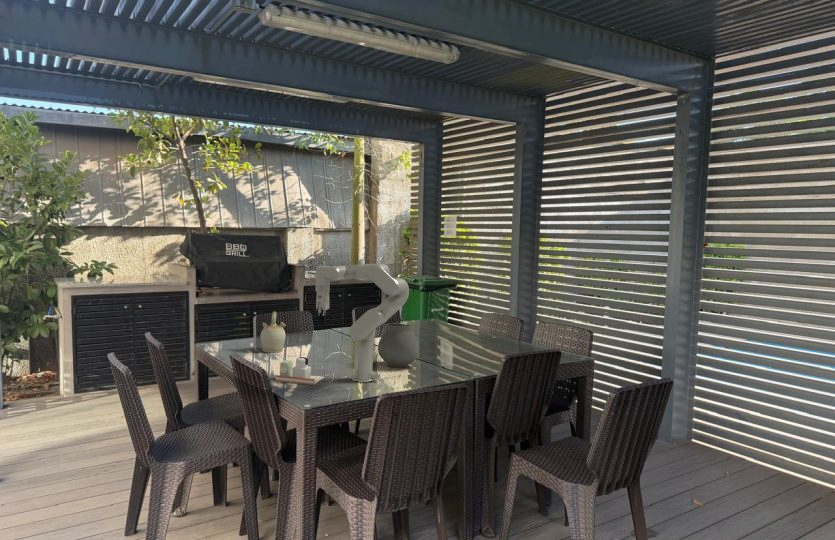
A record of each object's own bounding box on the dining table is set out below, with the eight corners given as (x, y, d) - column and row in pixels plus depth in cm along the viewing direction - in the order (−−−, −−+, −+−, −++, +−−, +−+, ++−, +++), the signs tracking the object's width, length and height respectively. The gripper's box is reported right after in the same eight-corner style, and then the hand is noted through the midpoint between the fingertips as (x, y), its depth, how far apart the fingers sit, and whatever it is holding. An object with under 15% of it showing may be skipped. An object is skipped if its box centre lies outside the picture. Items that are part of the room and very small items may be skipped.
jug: (288, 349, 367) (289, 310, 365) (280, 354, 351) (281, 313, 350) (265, 347, 368) (266, 309, 366) (255, 352, 353) (257, 312, 351)
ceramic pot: (425, 365, 342) (428, 324, 341) (404, 373, 322) (406, 329, 320) (391, 359, 355) (393, 319, 353) (368, 366, 334) (371, 323, 332)
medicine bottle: (297, 378, 297) (298, 355, 296) (310, 380, 295) (311, 357, 294) (291, 381, 290) (292, 358, 289) (304, 383, 288) (305, 359, 287)
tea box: (291, 378, 297) (292, 360, 296) (286, 380, 291) (287, 363, 290) (284, 377, 298) (285, 360, 297) (279, 380, 292) (280, 362, 291)
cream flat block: (324, 377, 303) (324, 371, 303) (313, 385, 286) (313, 379, 286) (288, 373, 306) (289, 368, 306) (275, 381, 289) (275, 375, 289)
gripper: (325, 290, 300) (324, 325, 301) (333, 287, 314) (332, 321, 315) (311, 289, 300) (310, 324, 301) (319, 287, 315) (319, 320, 316)
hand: (321, 322), depth 308 cm, fingers closed
